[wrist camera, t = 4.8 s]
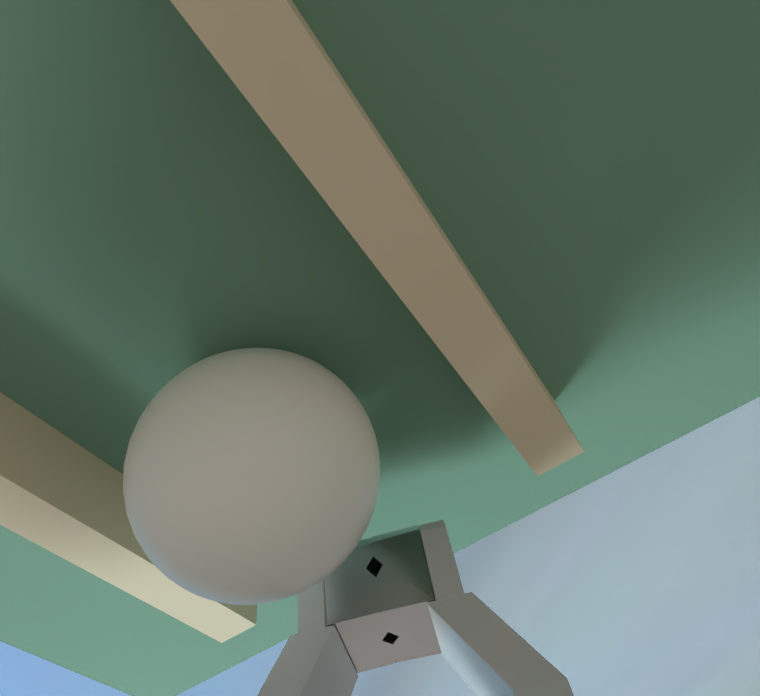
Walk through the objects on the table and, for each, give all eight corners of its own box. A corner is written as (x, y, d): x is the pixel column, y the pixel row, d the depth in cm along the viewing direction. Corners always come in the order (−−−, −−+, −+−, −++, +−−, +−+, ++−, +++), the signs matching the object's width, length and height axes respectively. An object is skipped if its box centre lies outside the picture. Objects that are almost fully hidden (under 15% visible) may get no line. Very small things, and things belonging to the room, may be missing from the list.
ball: (251, 495, 12) (237, 687, 9) (103, 381, 10) (16, 579, 7) (404, 403, 12) (450, 580, 8) (276, 259, 9) (269, 421, 6)
